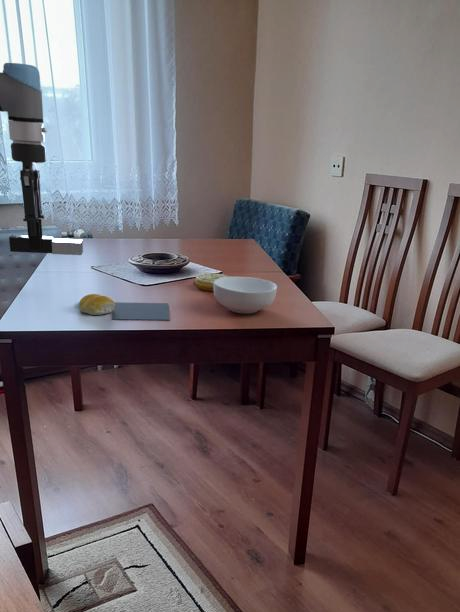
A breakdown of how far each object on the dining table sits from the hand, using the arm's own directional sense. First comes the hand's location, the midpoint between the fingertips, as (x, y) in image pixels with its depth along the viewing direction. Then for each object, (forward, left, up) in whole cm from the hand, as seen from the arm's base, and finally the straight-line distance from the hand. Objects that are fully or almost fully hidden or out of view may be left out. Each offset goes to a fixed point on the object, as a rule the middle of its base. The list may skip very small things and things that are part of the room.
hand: (36, 247), depth 137 cm
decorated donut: (+47, +17, -14) cm, 52 cm away
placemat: (+26, -7, -14) cm, 30 cm away
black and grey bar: (+3, 0, -1) cm, 3 cm away
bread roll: (+15, -7, -14) cm, 21 cm away
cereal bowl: (+53, -4, -14) cm, 55 cm away
